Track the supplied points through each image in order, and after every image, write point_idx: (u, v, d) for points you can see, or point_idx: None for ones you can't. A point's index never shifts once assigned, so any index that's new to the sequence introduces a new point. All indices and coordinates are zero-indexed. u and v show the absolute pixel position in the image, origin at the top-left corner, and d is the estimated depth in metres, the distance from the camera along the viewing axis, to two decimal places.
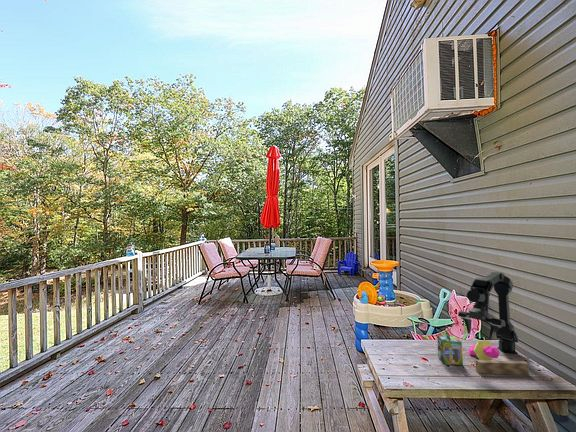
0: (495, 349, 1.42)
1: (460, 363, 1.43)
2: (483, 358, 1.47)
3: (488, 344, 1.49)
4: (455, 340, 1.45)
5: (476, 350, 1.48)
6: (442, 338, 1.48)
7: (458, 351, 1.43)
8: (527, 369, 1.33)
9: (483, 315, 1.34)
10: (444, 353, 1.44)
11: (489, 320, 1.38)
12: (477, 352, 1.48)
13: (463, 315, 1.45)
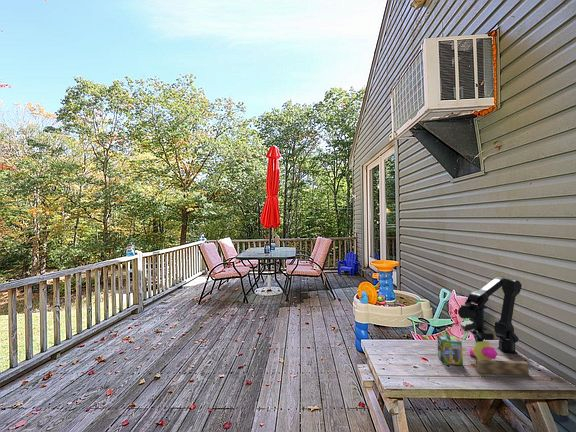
0: (493, 350, 1.41)
1: (460, 363, 1.43)
2: (481, 358, 1.46)
3: (488, 345, 1.48)
4: (455, 340, 1.45)
5: (474, 350, 1.48)
6: (442, 338, 1.48)
7: (458, 351, 1.43)
8: (527, 369, 1.33)
9: (467, 328, 1.51)
10: (444, 353, 1.44)
11: None
12: (475, 352, 1.47)
13: None
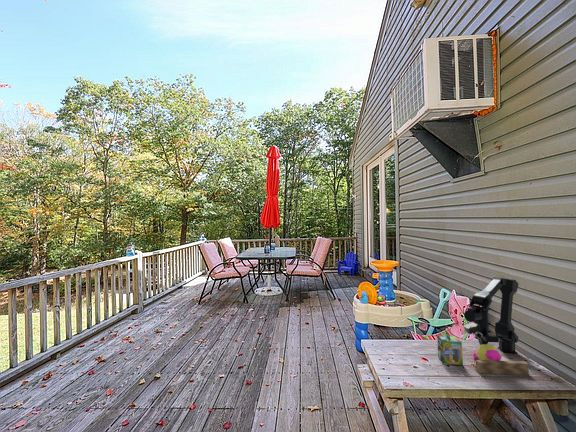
0: (496, 353, 1.38)
1: (460, 363, 1.43)
2: None
3: (492, 348, 1.44)
4: (455, 340, 1.45)
5: (478, 353, 1.44)
6: (442, 338, 1.48)
7: (458, 351, 1.43)
8: (527, 369, 1.33)
9: (471, 331, 1.48)
10: (444, 353, 1.44)
11: None
12: (479, 355, 1.44)
13: None
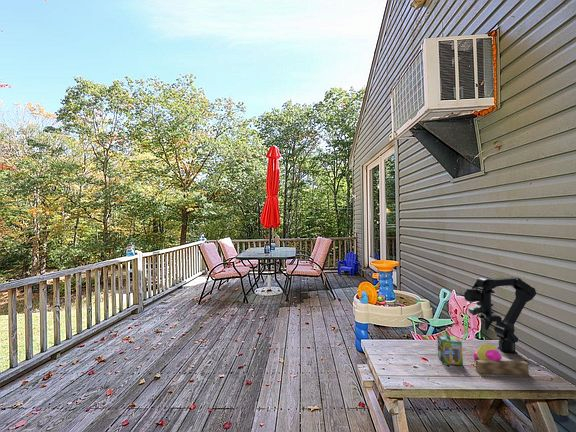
0: (497, 353, 1.38)
1: (460, 363, 1.43)
2: None
3: (492, 348, 1.44)
4: (455, 340, 1.45)
5: (478, 353, 1.44)
6: (442, 338, 1.48)
7: (458, 351, 1.43)
8: (527, 369, 1.33)
9: (475, 312, 1.55)
10: (444, 353, 1.44)
11: None
12: (479, 355, 1.44)
13: None
